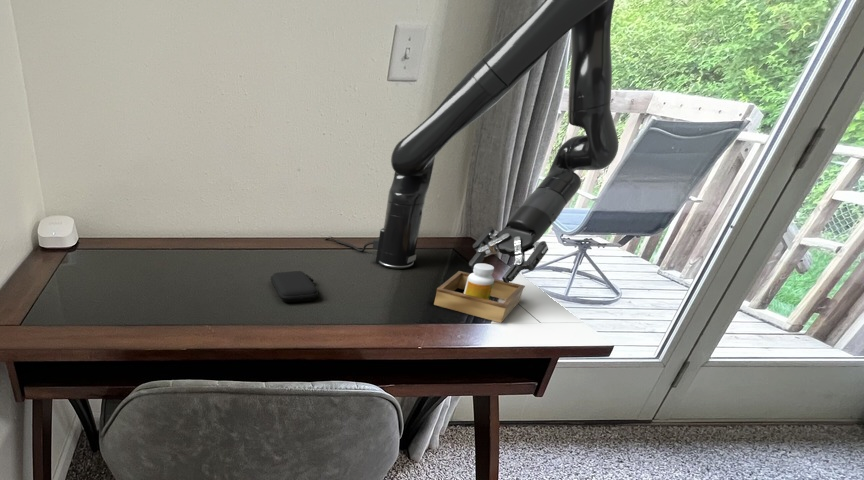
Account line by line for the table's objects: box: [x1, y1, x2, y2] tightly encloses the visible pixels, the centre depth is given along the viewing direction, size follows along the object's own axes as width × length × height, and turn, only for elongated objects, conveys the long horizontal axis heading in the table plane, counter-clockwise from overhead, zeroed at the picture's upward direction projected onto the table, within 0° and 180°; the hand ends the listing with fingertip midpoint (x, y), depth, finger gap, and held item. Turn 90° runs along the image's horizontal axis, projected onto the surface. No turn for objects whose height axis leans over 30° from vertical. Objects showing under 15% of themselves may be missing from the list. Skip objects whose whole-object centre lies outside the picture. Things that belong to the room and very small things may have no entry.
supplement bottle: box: [463, 262, 495, 300], centre depth 107 cm, size 5×5×10 cm
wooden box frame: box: [433, 270, 526, 324], centre depth 110 cm, size 15×14×4 cm
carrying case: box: [270, 270, 319, 303], centre depth 119 cm, size 11×3×15 cm
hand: (487, 274), depth 106 cm, fingers open, 8 cm apart
